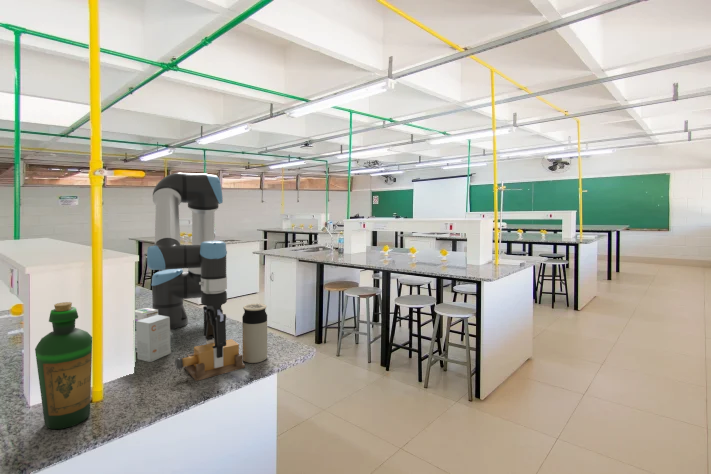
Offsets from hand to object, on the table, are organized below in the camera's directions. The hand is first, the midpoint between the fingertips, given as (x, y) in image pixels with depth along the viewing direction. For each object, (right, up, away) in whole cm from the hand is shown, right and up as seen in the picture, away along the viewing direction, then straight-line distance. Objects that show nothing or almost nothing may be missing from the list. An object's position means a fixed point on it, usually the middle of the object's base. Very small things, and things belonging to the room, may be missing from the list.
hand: (214, 363), depth 118 cm
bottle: (-24, -4, -30) cm, 38 cm away
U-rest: (0, -2, 0) cm, 2 cm away
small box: (-23, -1, +8) cm, 25 cm away
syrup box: (-29, 0, +13) cm, 31 cm away
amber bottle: (-2, -1, -1) cm, 2 cm away
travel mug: (+11, -1, +8) cm, 13 cm away
